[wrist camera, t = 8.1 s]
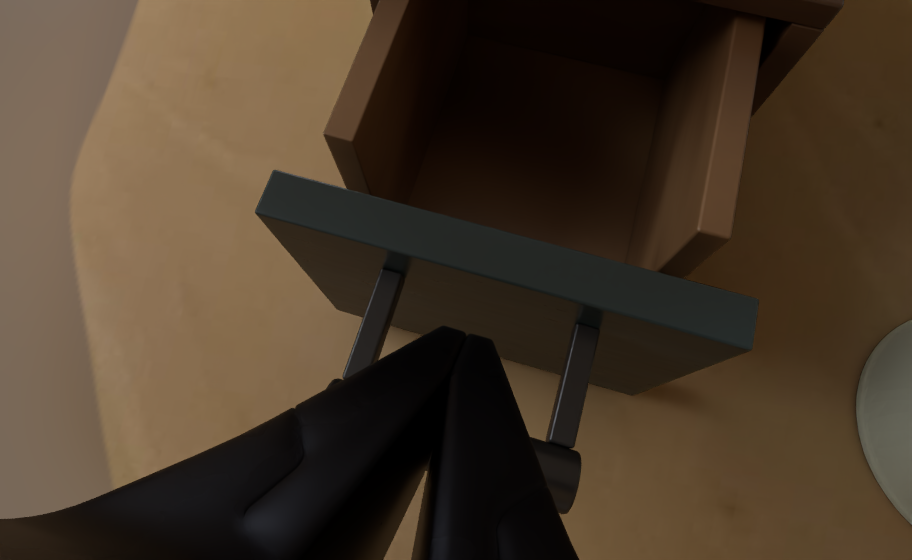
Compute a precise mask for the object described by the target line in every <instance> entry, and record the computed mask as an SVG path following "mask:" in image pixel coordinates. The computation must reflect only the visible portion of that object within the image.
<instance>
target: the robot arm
mask: <svg viewBox="0 0 912 560" xmlns="http://www.w3.org/2000/svg"><path fill="white" fill-rule="evenodd" d="M430 458H431V459H430ZM429 460H430V463H429ZM428 463H429V467H428V472H427V477H426V481H425V487H424V492H423V498H422V503H421V509H420V514H419V520H418V525H417V531H416V536H415V542H414V547H413V552H412V558H411V560H579V558H578V556H577V554H576V552H575V550H574V548H573V546H572V544H571V541H570V539H569V537H568V534H567V532H566V530H565V527H564V525H563V522H562V520H561V518H560V515H559V513H558V510H557V508H556V505H555V502H554V500H553V497H552V494H551V492H550V489H549V488H547V486H548V485H547V482H546V479H545V476H544V474H543V471H542V468H541V466H540V463H539V461H538V458H537V455H536V453H535V450H534V447H533V445H532V442H531V439H530V437H529V434H528V432H527V429H526V426H525V424H524V421H523V418H522V416H521V413H520V410H519V408H518V405H517V402H516V400H515V397H514V395H513V392H512V389H511V387H510V384H509V381H508V379H507V376H506V373H505V371H504V368H503V366H502V363H501V360H500V358H499V355H498V352H497V350H496V347H495V344H494V342H493V341H492V340H491V339H489V338H486V337H482V336H479V335H475V334H468V335H467V336H466V333H465V332H464V331H461V330H458V329H455V328H451V327H448V326H440V327H438V328H436V329H435V330H433V331H431V332H429V333H427V334H425V335H424V336H422V337H420V338H418V339H416V340H415V341H413V342H411V343H409V344H407V345H405V346H404V347H402V348H400V349H398V350H396V351H395V352H393V353H391V354H389V355H387V356H385V357H384V358H382V359H380V360H378V361H376V362H375V363H373V364H371V365H369V366H367V367H365V368H364V369H362V370H360V371H358V372H356V373H355V374H353V375H351V376H349V377H347V378H345V379H344V380H342V381H340V382H338V383H336V384H335V385H333V386H331V387H329V388H327V389H326V390H324V391H322V392H320V393H318V394H316V395H315V396H313V397H311V398H309V399H307V400H306V401H304V402H302V403H300V404H298V405H297V406H296V407H295V408H291V409H289V410H287V411H285V412H283V413H281V414H280V415H278V416H276V417H274V418H272V419H270V420H269V421H267V422H265V423H263V424H261V425H259V426H257V427H255V428H253V429H251V430H249V431H247V432H245V433H243V434H241V435H239V436H237V437H235V438H233V439H231V440H228V441H226V442H224V443H222V444H220V445H217V446H215V447H213V448H211V449H208V450H206V451H204V452H202V453H200V454H197V455H195V456H193V457H190V458H188V459H186V460H183V461H181V462H179V463H176V464H174V465H171V466H169V467H167V468H164V469H162V470H160V471H157V472H155V473H153V474H150V475H148V476H146V477H143V478H141V479H139V480H136V481H134V482H132V483H129V484H127V485H124V486H122V487H120V488H117V489H115V490H113V491H110V492H108V493H106V494H103V495H101V496H99V497H96V498H94V499H91V500H89V501H86V502H83V503H81V504H78V505H76V506H72V507H69V508H66V509H63V510H59V511H56V512H52V513H47V514H43V515H38V516H32V517H24V518H15V519H0V560H383V559H384V557H385V555H386V553H387V551H388V548H389V546H390V544H391V542H392V540H393V538H394V536H395V534H396V532H397V530H398V528H399V525H400V523H401V521H402V519H403V517H404V515H405V513H406V511H407V509H408V507H409V505H410V502H411V500H412V498H413V496H414V494H415V492H416V490H417V488H418V486H419V484H420V482H421V479H422V477H423V475H424V473H425V470H426V468H427V466H428Z"/></svg>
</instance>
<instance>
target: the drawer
mask: <svg viewBox="0 0 912 560" xmlns="http://www.w3.org/2000/svg"><path fill="white" fill-rule="evenodd" d="M765 24H766V17H764V16H759V15H755V14H750V13H746V12H741V11H736V10H732V9H727V8H722V7H718V6H713V5H709V4H704V3H699V2H695V1H690V0H379V3H378V5H377V7H376V10H375V12H374V14H373V17H372V19H371V21H370V24H369V26H368V28H367V31H366V33H365V36H364V38H363V40H362V43H361V45H360V47H359V50H358V52H357V54H356V57H355V59H354V62H353V64H352V66H351V69H350V71H349V73H348V76H347V78H346V80H345V83H344V85H343V88H342V90H341V92H340V95H339V97H338V99H337V102H336V104H335V106H334V109H333V111H332V114H331V116H330V118H329V121H328V123H327V125H326V128H325V130H324V132H323V135H324V137H325V140H326V142H327V144H328V147H329V149H330V151H331V153H332V156H333V158H334V160H335V163H336V165H337V167H338V170H339V172H340V174H341V176H342V179H343V181H344V183H345V186H346V188H347V189H345V188H342V187H338V186H334V185H330V184H327V183H323V182H319V181H315V180H312V179H308V178H304V177H300V176H297V175H293V174H289V173H285V172H282V171H278V170H273V172H272V174H271V176H270V179H269V181H268V183H267V185H266V188H265V190H264V192H263V194H262V197H261V199H260V201H259V203H258V206H257V208H256V210H255V213H256V215H257V216H258V217H259V218H260V219H261V220H262V222H263V223H264V224H265V225H266V226H267V228H268V229H269V230H270V231H271V232H272V233H273V235H274V236H275V237H276V238H277V239H278V240H279V242H280V243H281V244H282V245H283V246H284V248H285V249H286V250H287V251H288V252H289V253H290V255H291V256H292V257H293V258H294V259H295V260H296V262H297V263H298V264H299V265H300V266H301V268H302V269H303V270H304V271H305V272H306V273H307V275H308V276H309V277H310V278H311V279H312V281H313V282H314V283H315V284H316V285H317V286H318V288H319V289H320V290H321V291H322V292H323V293H324V295H325V296H326V297H327V298H328V299H329V301H330V302H331V303H332V304H333V305H334V306H335V308H336V309H337V310H340V311H343V312H347V313H350V314H353V315H357V316H360V317H363V320H362V323H361V326H360V328H359V331H358V334H357V337H356V340H355V342H354V345H353V348H352V351H351V354H350V356H349V359H348V362H347V365H346V368H345V370H344V373H343V379H345V378H347V377H349V376H351V375H353V374H355V373H356V372H358V371H360V370H362V369H364V368H365V367H367V366H369V365H371V364H373V363H375V362H376V361H378V359H379V356H380V353H381V350H382V348H383V345H384V342H385V339H386V336H387V333H388V330H389V327H390V325H391V326H395V327H398V328H401V329H405V330H408V331H412V332H415V333H419V334H422V335H425V334H427V333H429V332H431V331H433V330H435V329H436V328H438V327H440V326H448V327H451V328H455V329H458V330H461V331H464V332H465V333H466V336H467V335H468V334H475V335H479V336H482V337H486V338H489V339H491V340H492V341H493V342H494V344H495V347H496V350H497V352H498V355H499V357H501V358H505V359H508V360H511V361H515V362H518V363H522V364H525V365H529V366H532V367H535V368H539V369H542V370H546V371H549V372H553V373H556V374H559V375H561V378H560V382H559V386H558V390H557V395H556V399H555V403H554V407H553V411H552V415H551V420H550V424H549V428H548V432H547V436H546V442H545V441H542V440H539V439H535V438H532V437H530V439H531V442H532V445H533V447H534V450H535V453H536V455H537V458H538V461H539V463H540V466H541V468H542V471H543V474H544V476H545V479H546V482H547V485H548V486H547V488H549V489H550V492H551V494H552V497H553V500H554V502H555V505H556V508H557V510H558V513H561V514H567V513H568V512H569V510H570V508H571V507H572V505H573V502H574V500H575V497H576V493H577V489H578V485H579V480H580V474H581V455H580V453H579V452H577V451H575V450H571V449H570V448H573V447H574V446H575V441H576V437H577V432H578V428H579V423H580V419H581V414H582V410H583V406H584V401H585V397H586V392H587V388H588V383H590V384H594V385H597V386H601V387H604V388H608V389H611V390H614V391H618V392H621V393H625V394H628V395H635V394H638V393H641V392H643V391H646V390H649V389H651V388H654V387H656V386H659V385H662V384H664V383H667V382H670V381H672V380H675V379H677V378H680V377H683V376H685V375H688V374H691V373H693V372H696V371H698V370H701V369H704V368H706V367H709V366H711V365H714V364H717V363H719V362H722V361H725V360H727V359H730V358H732V357H735V356H738V355H740V354H743V353H746V352H748V351H751V350H752V347H753V340H754V333H755V326H756V319H757V311H758V304H759V299H757V298H753V297H749V296H746V295H742V294H738V293H734V292H731V291H727V290H723V289H719V288H716V287H712V286H708V285H705V284H701V283H697V282H693V281H690V280H686V279H683V278H684V277H686V276H687V275H688V274H689V273H690V272H692V271H693V270H694V269H695V268H696V267H698V266H699V265H700V264H701V263H702V262H704V261H705V260H706V259H707V258H708V257H710V256H711V255H712V254H713V253H714V252H716V251H717V250H718V249H719V248H721V247H722V246H723V245H724V244H725V243H727V242H728V241H729V240H730V239H731V236H732V230H733V224H734V218H735V211H736V205H737V199H738V193H739V186H740V180H741V174H742V167H743V161H744V155H745V149H746V142H747V136H748V130H749V124H750V117H751V111H752V105H753V99H754V92H755V86H756V80H757V74H758V67H759V61H760V55H761V49H762V42H763V36H764V30H765ZM340 381H342V379H334V380H332V381H331V383H330V384H329V385H328V387H327V388H329V387H331V386H333V385H335V384H336V383H338V382H340ZM327 388H326V389H327ZM430 459H431V458H430ZM429 463H430V460H429ZM429 463H428V466H427V468H426V470H425V471H428V467H429Z"/></svg>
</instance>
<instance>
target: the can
mask: <svg viewBox="0 0 912 560" xmlns="http://www.w3.org/2000/svg"><path fill="white" fill-rule="evenodd" d="M856 416H857V425H858V433H859V437H860V440H861V444H862V448H863V451H864V454H865V457H866V459H867V462H868V464H869V466H870V468H871V470H872V472H873V474H874V476H875V479H876V480H877V482H878V483H879V485H880V487H881V488H882V490H883V491H884V493H885V495H886V496H887V497H888V499H889V500H890V501H891V502H892V504H893V505H894V506H895V508H896V509H897V510H898V511H899V512H900V514H901V515H902V516H903V517H904V518H905V519H906V520H907V521H908V522H909V523H910V524H911V525H912V320H910V321H907V322H905V323H904V324H902V325H900V326H898V327H897V328H895V329H894V330H893V331H891V332H890V333H889V334H887V335H886V336H885V337H884V338H883V339H882V340H881V341H880V342H879V344H878V345H877V346H876V347H875V348H874V350H873V352H872V353H871V355H870V356H869V358H868V359H867V361H866V364H865V366H864V368H863V371H862V374H861V377H860V380H859V385H858V390H857V398H856Z"/></svg>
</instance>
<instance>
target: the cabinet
mask: <svg viewBox="0 0 912 560" xmlns="http://www.w3.org/2000/svg"><path fill="white" fill-rule="evenodd" d="M690 1H695V2H699V3H704V4H709V5H713V6H718V7H722V8H727V9H732V10H736V11H741V12H746V13H750V14H755V15H759V16H764V17H766V24H765V30H764V36H763V42H762V49H761V55H760V61H759V67H758V74H757V80H756V86H755V92H754V99H753V105H752V111H751V117H752V116H753V115H754V113H755V112H756V111H757V110H758V109H759V108H760V106H761V105H762V104H763V103H764V102H765V100H766V99H767V98H768V97H769V96H770V94H771V93H772V92H773V91H774V90H775V88H776V87H777V86H778V85H779V84H780V82H781V81H782V80H783V79H784V78H785V76H786V75H787V74H788V73H789V72H790V70H791V69H792V68H793V67H794V66H795V64H796V63H797V62H798V61H799V60H800V59H801V57H802V56H803V55H804V54H805V53H806V51H807V50H808V49H809V48H810V47H811V45H812V44H813V43H814V42H815V41H816V39H817V38H818V37H819V36H820V35H821V33H822V32H823V30H824V28H826V27H827V25H828V24H829V23H830V22H831V21H832V19H833V18H834V17H835V16H836V15H837V13H838V12H839V11H840V10H841V9H842V7H843V5H844V0H690ZM370 2H371V7H372V12H373V14H374V12H375V10H376V7H377V5H378V3H379V0H370ZM751 117H750V118H751Z"/></svg>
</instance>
